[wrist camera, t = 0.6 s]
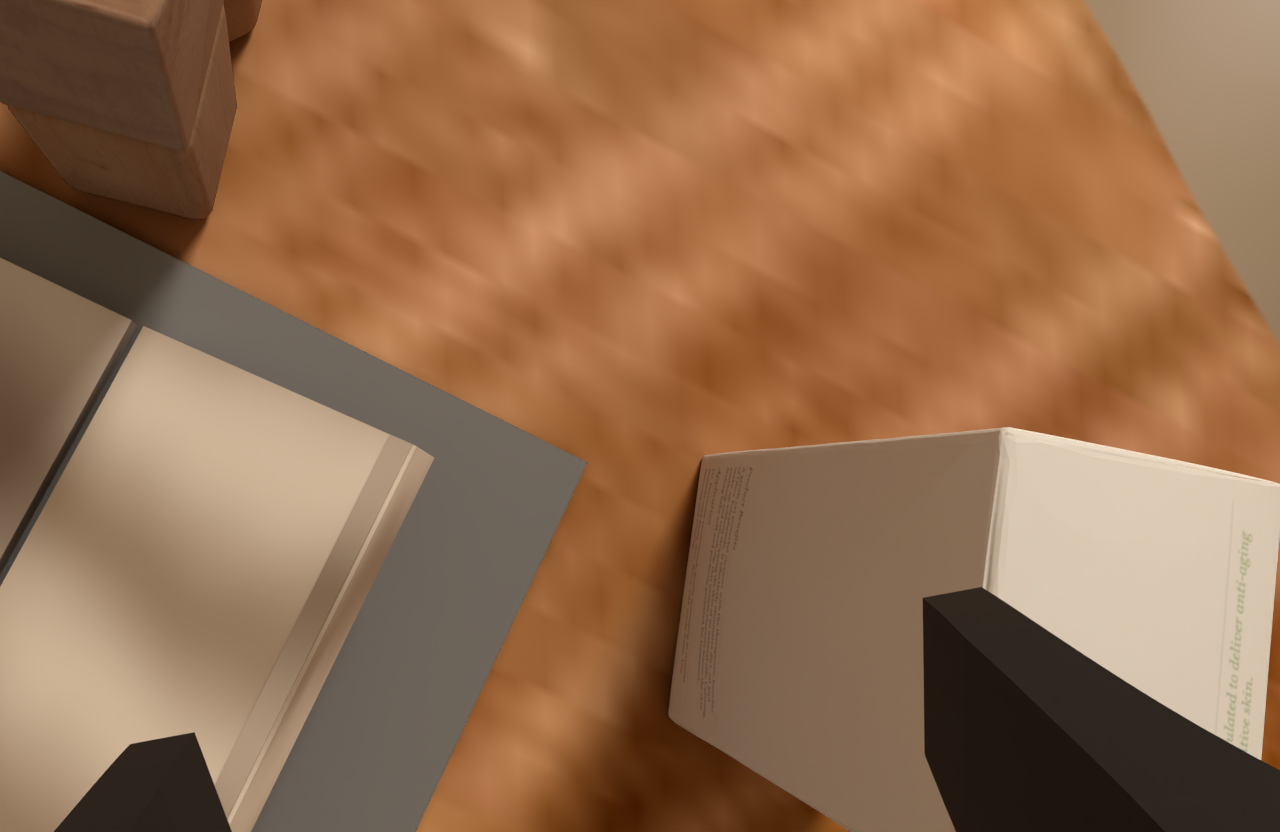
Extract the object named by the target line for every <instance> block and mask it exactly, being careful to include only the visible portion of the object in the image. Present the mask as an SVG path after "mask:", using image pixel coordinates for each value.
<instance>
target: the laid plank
mask: <svg viewBox="0 0 1280 832" xmlns="http://www.w3.org/2000/svg"><path fill="white" fill-rule="evenodd" d="M136 328H137V325H136V324H135V323H134V322H133V321H132V320H130V319H128V318H126V317H124V316H122V315H120V314H117V313H115V312H113V311H111V310H109V309H107V308H105V307H103V306H101V305H99V304H96V303H94V302H92V301H90V300H88V299H86V298H84V297H82V296H80V295H78V294H75V293H73V292H71V291H69V290H67V289H65V288H63V287H61V286H59V285H57V284H55V283H52V282H50V281H48V280H46V279H44V278H42V277H40V276H38V275H36V274H34V273H31V272H29V271H27V270H25V269H23V268H21V267H19V266H17V265H15V264H13V263H10V262H8V261H6V260H4V259H2V258H0V575H1V573H2V571H3V569H4V568H5V566H6V564H7V562H8V560H9V559H10V557H11V555H12V553H13V551H14V549H15V548H16V546H17V544H18V542H19V540H20V539H21V537H22V535H23V533H24V531H25V529H26V528H27V526H28V524H29V522H30V520H31V519H32V517H33V515H34V513H35V511H36V509H37V508H38V506H39V504H40V502H41V500H42V499H43V497H44V495H45V493H46V491H47V489H48V488H49V486H50V484H51V482H52V480H53V479H54V477H55V475H56V473H57V471H58V469H59V468H60V466H61V464H62V462H63V460H64V459H65V457H66V455H67V453H68V451H69V449H70V448H71V446H72V444H73V442H74V440H75V439H76V437H77V435H78V433H79V431H80V429H81V428H82V426H83V424H84V422H85V420H86V419H87V417H88V415H89V413H90V411H91V409H92V408H93V406H94V404H95V402H96V400H97V399H98V397H99V395H100V393H101V391H102V389H103V388H104V386H105V384H106V382H107V380H108V379H109V377H110V375H111V373H112V371H113V369H114V368H115V366H116V364H117V362H118V360H119V359H120V357H121V355H122V353H123V351H124V349H125V348H126V346H127V344H128V342H129V340H130V339H131V337H132V335H133V333H134V331H135V329H136Z"/></svg>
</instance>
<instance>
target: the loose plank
mask: <svg viewBox="0 0 1280 832" xmlns="http://www.w3.org/2000/svg"><path fill="white" fill-rule="evenodd" d="M433 460H434V457H433V456H431V455H430V454H428V453H426V452H425V451H423V450H422V449H420V448H419V447H417V446H415V445H413V444H411V443H408V442H406V441H404V440H402V439H399V438H397V437H395V436H393V435H390V434H388V433H385V432H383V431H381V430H379V429H376V428H374V427H372V426H369V425H367V424H365V423H363V422H360V421H358V420H356V419H354V418H351V417H349V416H347V415H344V414H342V413H340V412H338V411H335V410H333V409H331V408H329V407H326V406H324V405H322V404H320V403H317V402H315V401H313V400H310V399H308V398H306V397H304V396H301V395H299V394H297V393H295V392H292V391H290V390H288V389H285V388H283V387H281V386H279V385H276V384H274V383H272V382H270V381H267V380H265V379H263V378H261V377H258V376H256V375H254V374H251V373H249V372H247V371H245V370H242V369H240V368H238V367H236V366H233V365H231V364H229V363H227V362H224V361H222V360H220V359H217V358H215V357H213V356H211V355H208V354H206V353H204V352H202V351H199V350H197V349H195V348H192V347H190V346H188V345H186V344H183V343H181V342H179V341H177V340H174V339H172V338H170V337H168V336H165V335H163V334H161V333H158V332H156V331H154V330H152V329H149V328H147V327H145V326H143V328H142V330H141V331H140V333H139V335H138V337H137V339H136V341H135V342H134V344H133V346H132V348H131V350H130V351H129V353H128V355H127V357H126V359H125V361H124V362H123V364H122V366H121V368H120V370H119V372H118V373H117V375H116V377H115V379H114V381H113V382H112V384H111V386H110V388H109V390H108V392H107V393H106V395H105V397H104V399H103V401H102V402H101V404H100V406H99V408H98V410H97V412H96V413H95V415H94V417H93V419H92V421H91V422H90V424H89V426H88V428H87V430H86V432H85V433H84V435H83V437H82V439H81V441H80V443H79V444H78V446H77V448H76V450H75V452H74V453H73V455H72V457H71V459H70V461H69V463H68V464H67V466H66V468H65V470H64V472H63V473H62V475H61V477H60V479H59V481H58V483H57V484H56V486H55V488H54V490H53V492H52V494H51V495H50V497H49V499H48V501H47V503H46V504H45V506H44V508H43V510H42V512H41V514H40V515H39V517H38V519H37V521H36V523H35V524H34V526H33V528H32V530H31V532H30V534H29V535H28V537H27V539H26V541H25V543H24V544H23V546H22V548H21V550H20V552H19V554H18V555H17V557H16V559H15V561H14V563H13V565H12V566H11V568H10V570H9V572H8V574H7V575H6V577H5V579H4V581H3V583H2V585H1V586H0V832H54V831H55V829H56V828H57V827H58V826H59V825H60V824H61V822H62V821H63V820H64V819H65V818H66V817H67V815H68V814H69V813H70V812H71V811H72V810H73V808H74V807H75V806H76V805H77V804H78V802H79V801H80V800H81V799H82V798H83V797H84V795H85V794H86V793H87V792H88V791H89V790H90V788H91V787H92V786H93V785H94V784H95V783H96V781H97V780H98V779H99V778H100V777H101V776H102V775H103V773H104V772H105V771H106V770H107V769H108V768H109V767H110V765H111V764H112V763H113V762H114V761H115V760H116V759H117V758H118V757H119V755H120V754H121V753H122V752H123V751H124V750H125V749H126V748H127V747H128V746H129V745H130V744H133V743H139V742H144V741H149V740H155V739H160V738H166V737H171V736H176V735H182V734H187V733H193V732H195V735H196V737H197V740H198V743H199V745H200V748H201V751H202V753H203V756H204V759H205V761H206V764H207V767H208V769H209V772H210V775H211V777H212V780H213V783H214V785H215V788H216V791H217V793H218V796H219V799H220V801H221V804H222V807H223V809H224V812H225V815H226V817H227V820H228V823H229V825H230V828H231V831H232V832H251V831H252V829H253V827H254V825H255V823H256V821H257V819H258V817H259V815H260V813H261V811H262V808H263V806H264V804H265V802H266V800H267V798H268V796H269V794H270V792H271V790H272V788H273V786H274V784H275V782H276V780H277V778H278V776H279V774H280V772H281V770H282V768H283V766H284V764H285V762H286V760H287V758H288V755H289V753H290V751H291V749H292V747H293V745H294V743H295V741H296V739H297V737H298V735H299V733H300V731H301V729H302V727H303V725H304V723H305V721H306V719H307V717H308V715H309V713H310V711H311V709H312V707H313V705H314V702H315V700H316V698H317V696H318V694H319V692H320V690H321V688H322V686H323V684H324V682H325V680H326V678H327V676H328V674H329V672H330V670H331V668H332V666H333V664H334V662H335V660H336V658H337V656H338V654H339V652H340V649H341V647H342V645H343V643H344V641H345V639H346V637H347V635H348V633H349V631H350V629H351V627H352V625H353V623H354V621H355V619H356V617H357V615H358V613H359V611H360V609H361V607H362V605H363V603H364V601H365V599H366V596H367V594H368V592H369V590H370V588H371V586H372V584H373V582H374V580H375V578H376V576H377V574H378V572H379V570H380V568H381V566H382V564H383V562H384V560H385V558H386V556H387V554H388V552H389V550H390V548H391V546H392V543H393V541H394V539H395V537H396V535H397V533H398V531H399V529H400V527H401V525H402V523H403V521H404V519H405V517H406V515H407V513H408V511H409V509H410V507H411V505H412V503H413V501H414V499H415V497H416V495H417V493H418V490H419V488H420V486H421V484H422V482H423V480H424V478H425V476H426V474H427V472H428V470H429V468H430V466H431V464H432V462H433Z"/></svg>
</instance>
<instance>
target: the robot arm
mask: <svg viewBox="0 0 1280 832" xmlns="http://www.w3.org/2000/svg"><path fill="white" fill-rule="evenodd" d="M923 668H924V752H925V757H926V759H927V762H928V764H929V767H930V770H931V772H932V775H933V777H934V780H935V782H936V785H937V787H938V790H939V792H940V795H941V797H942V800H943V802H944V805H945V807H946V809H947V812H948V814H949V816H950V819H951V821H952V824H953V826H954V828H955V831H956V832H1280V770H1278V769H1276V768H1274V767H1272V766H1270V765H1268V764H1267V763H1265V762H1263V761H1261V760H1259V759H1257V758H1256V757H1254V756H1252V755H1250V754H1248V753H1247V752H1245V751H1243V750H1241V749H1239V748H1238V747H1236V746H1234V745H1232V744H1230V743H1229V742H1227V741H1225V740H1223V739H1221V738H1220V737H1218V736H1216V735H1214V734H1212V733H1211V732H1209V731H1207V730H1205V729H1204V728H1202V727H1200V726H1198V725H1197V724H1195V723H1193V722H1191V721H1190V720H1188V719H1186V718H1185V717H1183V716H1181V715H1180V714H1178V713H1176V712H1175V711H1173V710H1171V709H1170V708H1168V707H1166V706H1165V705H1163V704H1161V703H1160V702H1158V701H1156V700H1155V699H1153V698H1151V697H1150V696H1148V695H1147V694H1145V693H1143V692H1142V691H1140V690H1138V689H1137V688H1135V687H1134V686H1132V685H1131V684H1129V683H1127V682H1126V681H1124V680H1123V679H1121V678H1119V677H1118V676H1116V675H1115V674H1113V673H1112V672H1110V671H1108V670H1107V669H1105V668H1104V667H1102V666H1101V665H1099V664H1098V663H1096V662H1095V661H1093V660H1091V659H1090V658H1088V657H1087V656H1085V655H1084V654H1082V653H1081V652H1079V651H1078V650H1076V649H1075V648H1073V647H1072V646H1070V645H1069V644H1067V643H1066V642H1064V641H1063V640H1061V639H1060V638H1058V637H1057V636H1055V635H1054V634H1052V633H1051V632H1049V631H1048V630H1046V629H1045V628H1043V627H1042V626H1040V625H1039V624H1037V623H1036V622H1034V621H1033V620H1031V619H1030V618H1028V617H1027V616H1025V615H1024V614H1022V613H1021V612H1019V611H1018V610H1016V609H1015V608H1013V607H1012V606H1010V605H1009V604H1007V603H1006V602H1004V601H1003V600H1001V599H1000V598H998V597H997V596H995V595H993V594H992V593H990V592H989V591H987V590H985V589H984V588H982V587H978V588H973V589H968V590H962V591H957V592H951V593H946V594H940V595H935V596H930V597H924V598H923ZM54 832H232V831H231V828H230V825H229V823H228V820H227V817H226V815H225V812H224V809H223V807H222V804H221V801H220V799H219V796H218V793H217V791H216V788H215V785H214V783H213V780H212V777H211V775H210V772H209V769H208V767H207V764H206V761H205V759H204V756H203V753H202V751H201V748H200V745H199V743H198V740H197V737H196V735H195V732H193V733H187V734H182V735H176V736H171V737H166V738H160V739H155V740H149V741H144V742H139V743H133V744H130V745H129V746H128V747H127V748H126V749H125V750H124V751H123V752H122V753H121V754H120V755H119V757H118V758H117V759H116V760H115V761H114V762H113V763H112V764H111V765H110V767H109V768H108V769H107V770H106V771H105V772H104V773H103V775H102V776H101V777H100V778H99V779H98V780H97V781H96V783H95V784H94V785H93V786H92V787H91V788H90V790H89V791H88V792H87V793H86V794H85V795H84V797H83V798H82V799H81V800H80V801H79V802H78V804H77V805H76V806H75V807H74V808H73V810H72V811H71V812H70V813H69V814H68V815H67V817H66V818H65V819H64V820H63V821H62V822H61V824H60V825H59V826H58V827H57V828H56V829H55V831H54Z"/></svg>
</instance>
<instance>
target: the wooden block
mask: <svg viewBox="0 0 1280 832" xmlns="http://www.w3.org/2000/svg"><path fill="white" fill-rule="evenodd" d="M261 2H262V0H0V102H2V103H3V104H6V105H8V109H9V110H10V111H11V113H12V114H13V115H14V116H15V118H16V119H17V120H18V121H19V123H20V124H21V125H22V127H23V128H24V129H25V130H26V132H27V133H28V134H29V136H30V137H31V138H32V139H33V141H34V142H35V143H36V145H37V146H38V147H39V148H40V150H41V151H42V152H43V154H44V155H45V156H46V157H47V159H48V160H49V161H50V163H51V164H52V165H53V166H54V168H55V169H56V170H57V171H58V173H59V174H60V175H61V177H62V178H63V179H64V180H65V182H66V183H67V184H68V185H70V186H71V187H73V188H74V189H76V190H78V191H82V192H86V193H90V194H94V195H98V196H102V197H106V198H110V199H114V200H118V201H122V202H126V203H130V204H134V205H138V206H142V207H146V208H150V209H154V210H158V211H162V212H166V213H170V214H174V215H178V216H182V217H186V218H190V219H194V220H196V219H204V218H207V216H208V215H209V214H210V212H211V211H212V210H213V205H214V201H215V197H216V193H217V188H218V184H219V180H220V176H221V172H222V167H223V163H224V159H225V155H226V151H227V146H228V142H229V138H230V134H231V129H232V125H233V121H234V117H235V113H236V108H237V102H236V94H235V86H234V78H233V70H232V62H231V55H230V47H229V42H231V41H233V40H235V39H237V38H239V37H241V36H243V35H245V34H247V33H248V32H249V31H251V30H252V29H253V28H254V26H255V24H256V22H257V19H258V15H259V11H260V7H261Z"/></svg>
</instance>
